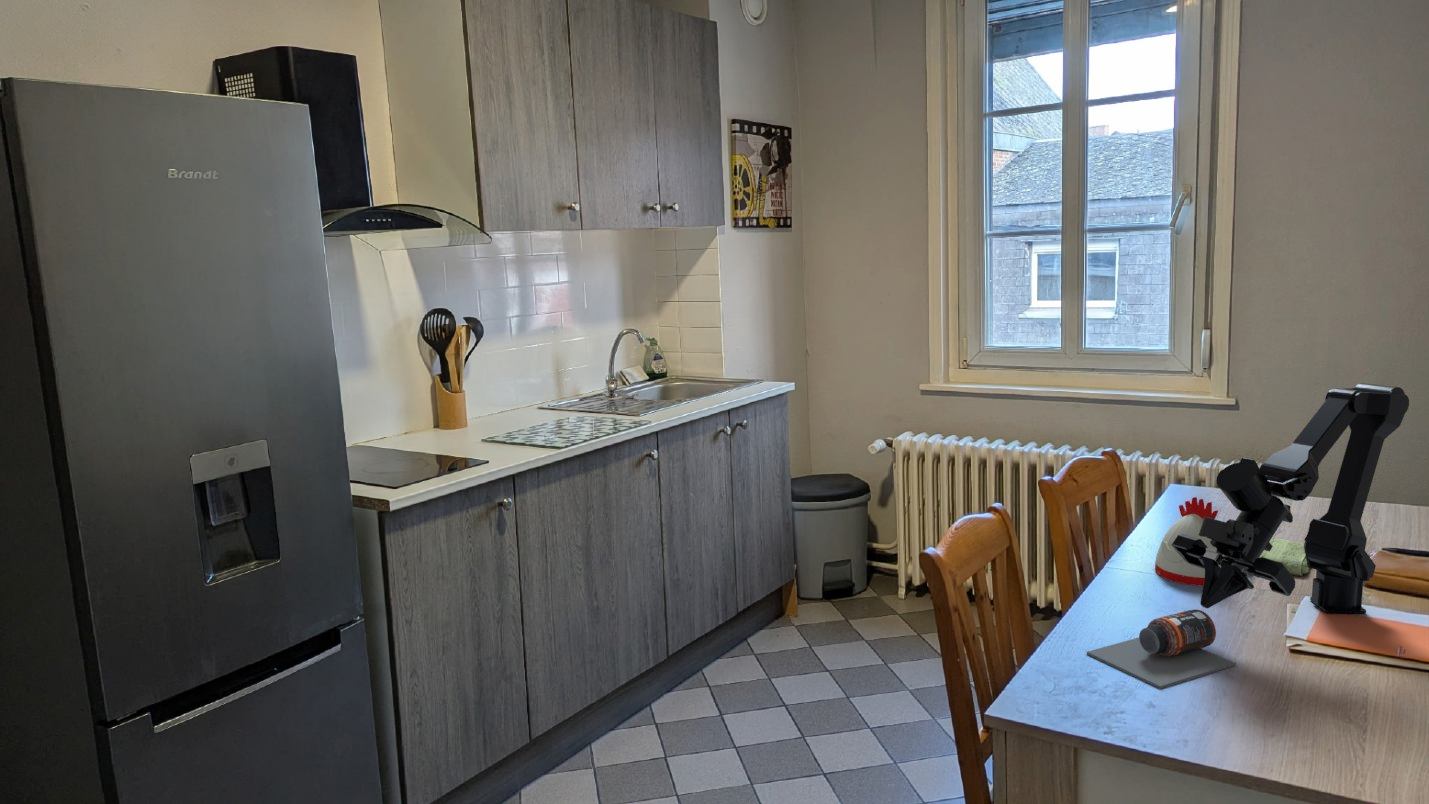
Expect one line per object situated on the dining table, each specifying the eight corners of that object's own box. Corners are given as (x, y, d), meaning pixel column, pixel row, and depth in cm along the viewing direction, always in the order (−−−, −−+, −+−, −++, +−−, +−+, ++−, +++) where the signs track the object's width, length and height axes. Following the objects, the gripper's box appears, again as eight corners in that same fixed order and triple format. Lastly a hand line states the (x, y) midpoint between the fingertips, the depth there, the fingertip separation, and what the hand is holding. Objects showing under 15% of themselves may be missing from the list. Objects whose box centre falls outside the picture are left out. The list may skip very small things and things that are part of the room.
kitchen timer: (1198, 591, 183) (1201, 511, 180) (1139, 569, 195) (1141, 495, 193) (1251, 578, 188) (1256, 501, 186) (1191, 558, 201) (1194, 485, 198)
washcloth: (1318, 555, 201) (1319, 539, 200) (1306, 580, 187) (1307, 564, 186) (1246, 544, 209) (1246, 529, 208) (1229, 568, 195) (1229, 552, 194)
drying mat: (1159, 633, 164) (1159, 631, 164) (1235, 665, 151) (1235, 662, 151) (1086, 654, 157) (1086, 651, 157) (1160, 688, 145) (1160, 686, 145)
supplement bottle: (1203, 602, 157) (1150, 614, 153) (1225, 636, 154) (1171, 650, 149) (1179, 618, 162) (1127, 631, 157) (1200, 652, 158) (1147, 666, 154)
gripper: (1181, 486, 165) (1130, 562, 162) (1287, 512, 148) (1232, 597, 146) (1212, 524, 170) (1164, 598, 167) (1318, 553, 153) (1266, 637, 150)
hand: (1203, 606), depth 157 cm, fingers closed
